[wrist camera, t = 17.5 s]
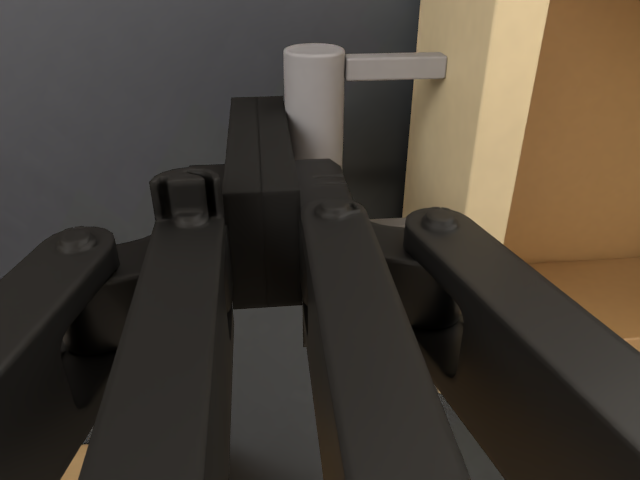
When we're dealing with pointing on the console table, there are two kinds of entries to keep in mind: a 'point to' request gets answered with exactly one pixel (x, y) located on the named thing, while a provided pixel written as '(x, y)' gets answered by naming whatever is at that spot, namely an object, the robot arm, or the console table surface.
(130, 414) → the robot arm
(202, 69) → the console table surface
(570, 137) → the drawer
